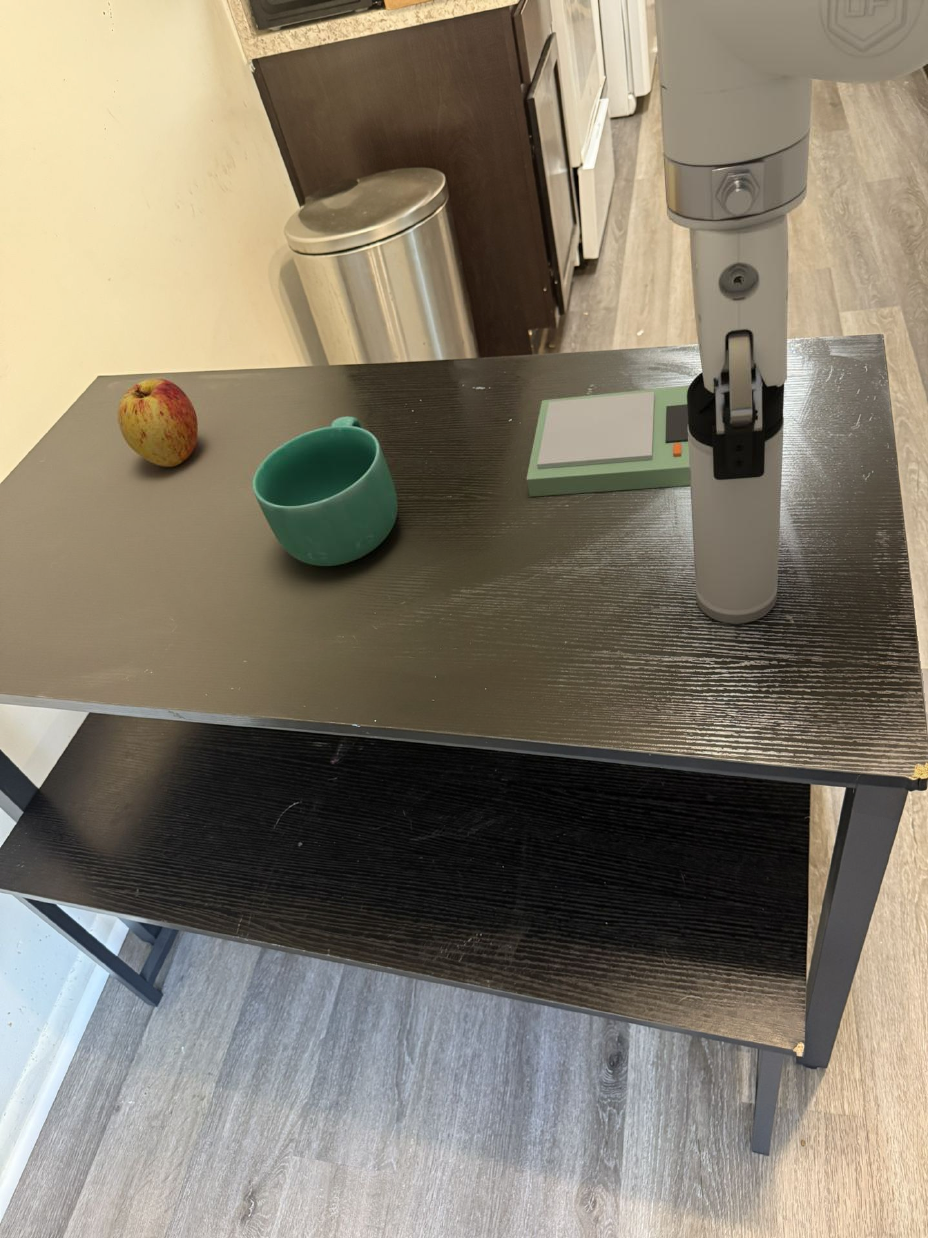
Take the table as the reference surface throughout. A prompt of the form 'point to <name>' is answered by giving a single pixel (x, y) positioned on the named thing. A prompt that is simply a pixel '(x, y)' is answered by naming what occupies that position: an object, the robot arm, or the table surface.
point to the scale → (611, 443)
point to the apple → (158, 422)
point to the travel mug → (734, 513)
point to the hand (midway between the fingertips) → (736, 442)
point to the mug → (328, 494)
